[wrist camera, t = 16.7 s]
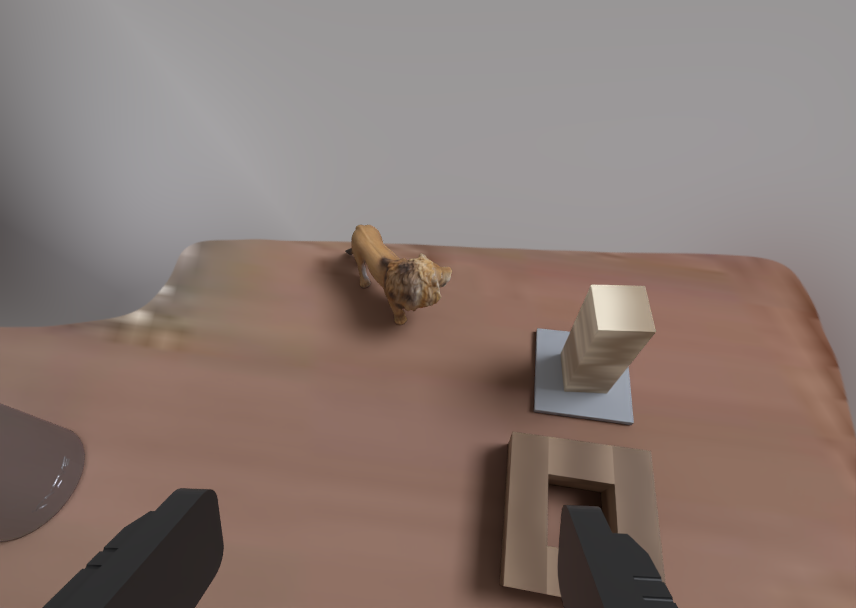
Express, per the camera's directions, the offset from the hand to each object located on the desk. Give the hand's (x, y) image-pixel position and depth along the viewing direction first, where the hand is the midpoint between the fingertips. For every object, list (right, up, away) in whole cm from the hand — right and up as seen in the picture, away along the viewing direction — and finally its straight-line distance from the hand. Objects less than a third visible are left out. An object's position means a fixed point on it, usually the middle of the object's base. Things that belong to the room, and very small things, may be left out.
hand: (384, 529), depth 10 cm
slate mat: (+15, -1, +29) cm, 32 cm away
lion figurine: (-2, +6, +35) cm, 36 cm away
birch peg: (+15, -1, +28) cm, 32 cm away
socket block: (+12, -11, +22) cm, 28 cm away
